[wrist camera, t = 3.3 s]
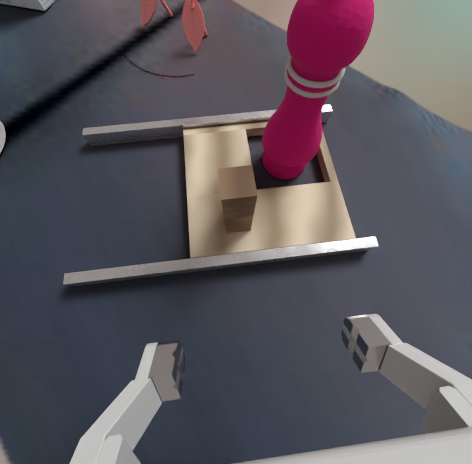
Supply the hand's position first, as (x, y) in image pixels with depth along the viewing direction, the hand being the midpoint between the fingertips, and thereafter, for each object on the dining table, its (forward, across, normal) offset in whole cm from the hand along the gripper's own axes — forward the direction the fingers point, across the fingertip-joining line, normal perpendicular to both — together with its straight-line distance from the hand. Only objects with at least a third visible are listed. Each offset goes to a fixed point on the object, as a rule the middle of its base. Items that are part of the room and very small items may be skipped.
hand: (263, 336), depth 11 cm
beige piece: (+22, -4, -1) cm, 22 cm away
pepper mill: (+25, -8, -4) cm, 27 cm away
